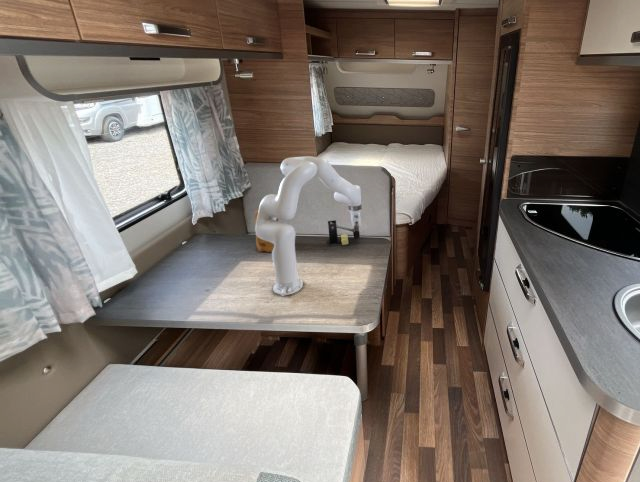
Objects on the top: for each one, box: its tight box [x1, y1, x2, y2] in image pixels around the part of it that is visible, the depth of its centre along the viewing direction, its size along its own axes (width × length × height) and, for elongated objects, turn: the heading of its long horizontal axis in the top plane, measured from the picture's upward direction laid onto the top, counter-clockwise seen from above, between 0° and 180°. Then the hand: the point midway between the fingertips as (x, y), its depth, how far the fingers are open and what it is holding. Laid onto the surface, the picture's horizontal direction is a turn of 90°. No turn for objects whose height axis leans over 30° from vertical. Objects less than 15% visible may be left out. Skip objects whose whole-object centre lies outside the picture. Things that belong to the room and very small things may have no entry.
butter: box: [340, 233, 349, 246], centre depth 190 cm, size 7×4×4 cm, turn 16°
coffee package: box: [254, 210, 279, 253], centre depth 180 cm, size 10×12×22 cm
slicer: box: [327, 219, 339, 245], centre depth 189 cm, size 5×6×13 cm
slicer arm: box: [330, 222, 354, 233], centre depth 190 cm, size 17×3×3 cm, turn 106°
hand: (356, 236), depth 194 cm, fingers closed on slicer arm, 3 cm apart
